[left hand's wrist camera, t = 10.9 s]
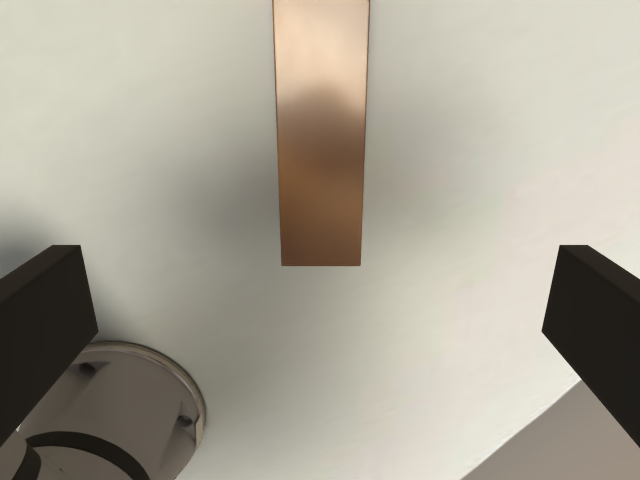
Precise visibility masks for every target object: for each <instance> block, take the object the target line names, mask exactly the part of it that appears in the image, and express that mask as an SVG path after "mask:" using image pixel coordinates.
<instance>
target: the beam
mask: <svg viewBox="0 0 640 480" xmlns="http://www.w3.org/2000/svg"><path fill="white" fill-rule="evenodd" d="M272 5H273V34H274V63H275V92H276V121H277V149H278V178H279V207H280V236H281V265H282V266H360V265H361V240H362V213H363V185H364V157H365V129H366V102H367V74H368V46H369V18H370V0H272Z"/></svg>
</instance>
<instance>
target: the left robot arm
mask: <svg viewBox="0 0 640 480" xmlns="http://www.w3.org/2000/svg"><path fill="white" fill-rule="evenodd" d="M97 333H98V327H97V322H96V317H95V313H94V308H93V303H92V298H91V294H90V289H89V284H88V279H87V275H86V270H85V265H84V260H83V256H82V251H81V246H80V245H52V246H50V247H49V248H47V249H46V250H44V251H43V252H41V253H40V254H38V255H36V256H35V257H33V258H32V259H30V260H29V261H27V262H26V263H24V264H23V265H21V266H20V267H18V268H17V269H15V270H14V271H12V272H11V273H9V274H8V275H6V276H5V277H3V278H1V279H0V480H175V478H176V477H177V476H178V475H179V473H180V472H181V471H182V470H183V468H184V467H185V466H186V465H187V463H188V462H189V461H190V459H191V457H192V456H193V454H194V452H195V450H196V448H198V446H199V444H200V442H201V440H202V438H203V428H204V424H205V409H204V404H203V400H202V397H201V395H200V393H199V391H198V389H197V387H196V385H195V384H194V382H193V381H192V380H191V378H190V377H189V376H188V375H187V374H186V373H185V372H184V371H183V370H182V369H181V368H180V367H179V366H178V365H176V364H175V363H174V362H172V361H171V360H169V359H168V358H166V357H165V356H163V355H161V354H159V353H157V352H155V351H153V350H150V349H148V348H145V347H142V346H138V345H134V344H130V343H123V342H97V343H91V344H88V343H89V342H90V341H91V340H92V339H93V337H94V336H95V335H96V334H97ZM542 333H543V334H544V335H545V336H546V337H547V339H548V340H549V341H550V342H551V343H552V344H553V346H554V347H555V348H556V349H557V350H558V352H559V353H560V354H561V355H562V356H563V358H564V359H565V360H566V361H567V362H568V363H569V365H570V366H571V367H572V368H573V369H574V371H575V372H576V373H577V374H578V375H579V376H580V378H581V379H582V380H583V381H584V382H585V384H586V385H587V386H588V387H589V388H590V389H591V391H592V392H593V393H594V394H595V395H596V397H597V398H598V399H599V400H600V401H601V402H602V404H603V405H604V406H605V407H606V408H607V410H608V411H609V412H610V413H611V414H612V416H613V417H614V418H615V419H616V420H617V421H618V423H619V424H620V425H621V426H622V427H623V429H624V430H625V431H626V432H627V433H628V434H629V436H630V437H631V438H632V439H633V440H634V442H635V443H636V444H637V445H638V446H639V448H640V279H639V278H637V277H635V276H634V275H632V274H631V273H629V272H628V271H626V270H625V269H623V268H622V267H620V266H619V265H617V264H616V263H614V262H613V261H611V260H610V259H608V258H607V257H605V256H604V255H602V254H600V253H599V252H597V251H596V250H594V249H593V248H591V247H590V246H588V245H560V246H559V251H558V256H557V260H556V265H555V270H554V275H553V279H552V284H551V289H550V294H549V298H548V303H547V308H546V313H545V317H544V322H543V327H542ZM20 424H21V426H20V428H19V431H18V432H17V431H16V429H17V427H18V426H19V425H20Z"/></svg>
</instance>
